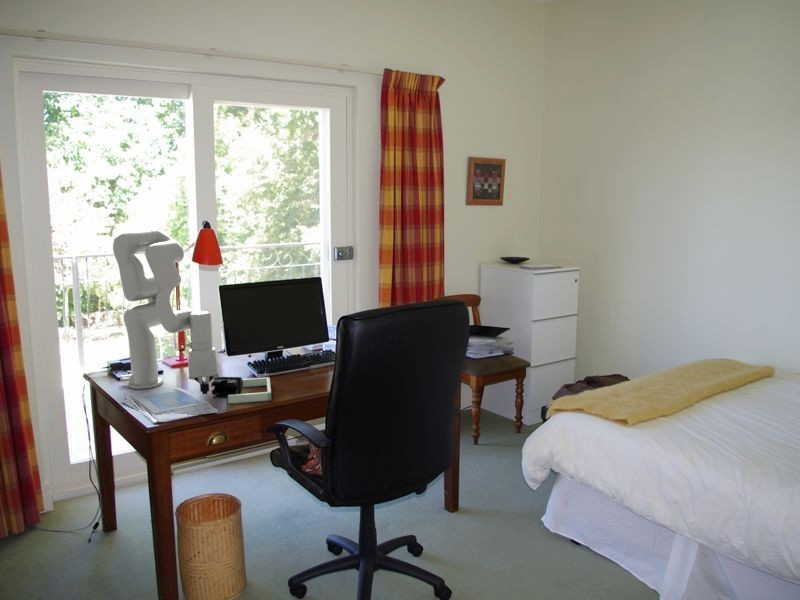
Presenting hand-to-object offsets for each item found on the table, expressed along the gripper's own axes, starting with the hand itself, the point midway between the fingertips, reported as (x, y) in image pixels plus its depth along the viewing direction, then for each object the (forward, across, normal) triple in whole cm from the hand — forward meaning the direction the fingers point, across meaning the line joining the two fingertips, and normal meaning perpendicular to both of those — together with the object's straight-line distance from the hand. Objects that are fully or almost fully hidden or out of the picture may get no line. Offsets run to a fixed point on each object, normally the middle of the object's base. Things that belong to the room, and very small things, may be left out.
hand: (205, 393), depth 241 cm
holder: (+1, +16, 0) cm, 16 cm away
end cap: (+2, +8, 0) cm, 8 cm away
